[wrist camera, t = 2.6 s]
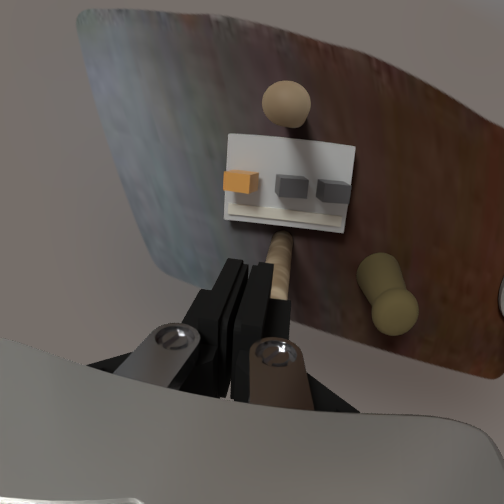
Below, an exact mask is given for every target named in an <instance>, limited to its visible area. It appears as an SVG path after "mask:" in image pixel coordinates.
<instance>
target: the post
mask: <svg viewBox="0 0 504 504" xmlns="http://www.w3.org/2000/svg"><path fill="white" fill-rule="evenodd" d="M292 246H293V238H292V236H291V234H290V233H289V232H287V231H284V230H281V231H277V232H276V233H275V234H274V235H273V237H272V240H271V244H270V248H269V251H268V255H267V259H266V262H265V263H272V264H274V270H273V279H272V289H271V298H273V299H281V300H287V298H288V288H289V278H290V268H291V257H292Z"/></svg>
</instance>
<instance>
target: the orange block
mask: <svg viewBox="0 0 504 504" xmlns="http://www.w3.org/2000/svg"><path fill="white" fill-rule="evenodd" d="M258 180H259V172H251V171H244V170H235V169H234V170H229V171H225V172H224V183H223V190H226V191H233V192H239V193H246V194H250V193H252V192H255V191H257V190H258Z"/></svg>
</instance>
